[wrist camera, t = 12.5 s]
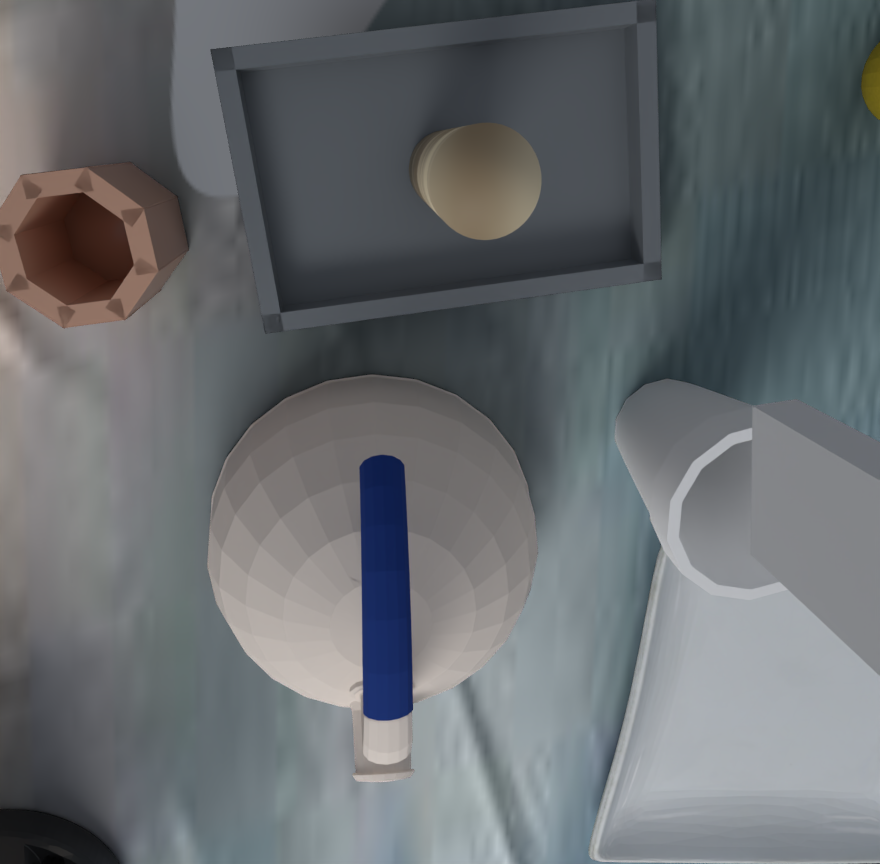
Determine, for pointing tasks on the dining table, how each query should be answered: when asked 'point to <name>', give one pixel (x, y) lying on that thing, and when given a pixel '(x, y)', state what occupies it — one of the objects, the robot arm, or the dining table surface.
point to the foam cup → (696, 482)
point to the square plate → (742, 737)
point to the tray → (410, 120)
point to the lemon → (872, 82)
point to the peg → (477, 178)
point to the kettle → (372, 550)
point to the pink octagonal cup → (89, 242)
